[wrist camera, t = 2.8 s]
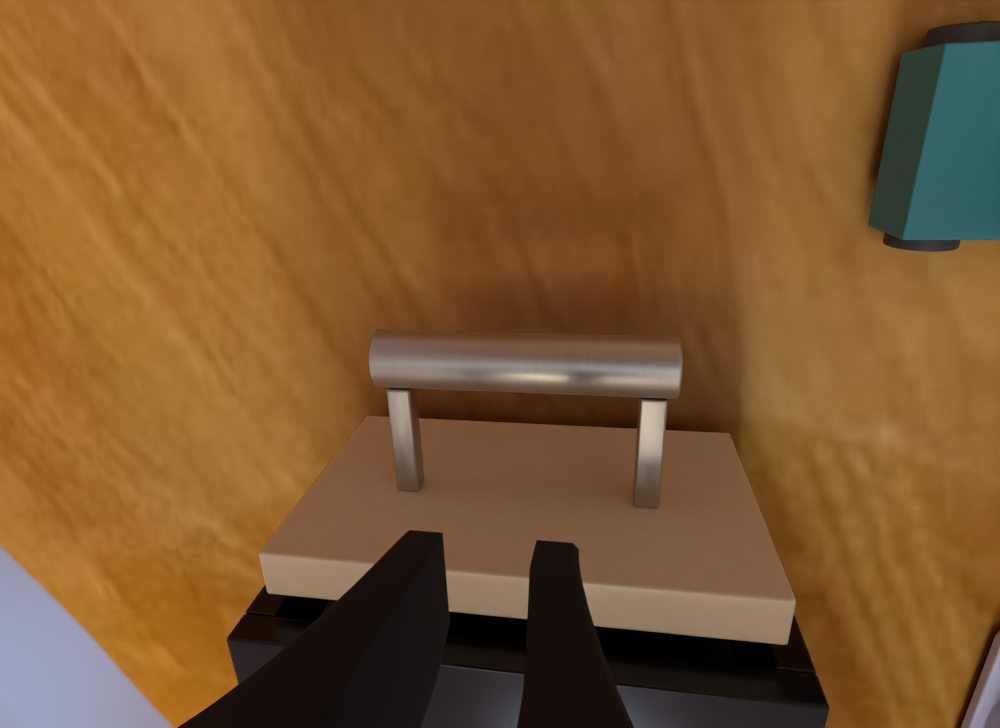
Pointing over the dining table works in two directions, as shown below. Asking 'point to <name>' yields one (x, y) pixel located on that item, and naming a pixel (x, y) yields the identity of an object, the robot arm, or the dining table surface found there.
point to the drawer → (546, 498)
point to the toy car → (943, 143)
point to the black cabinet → (639, 679)
